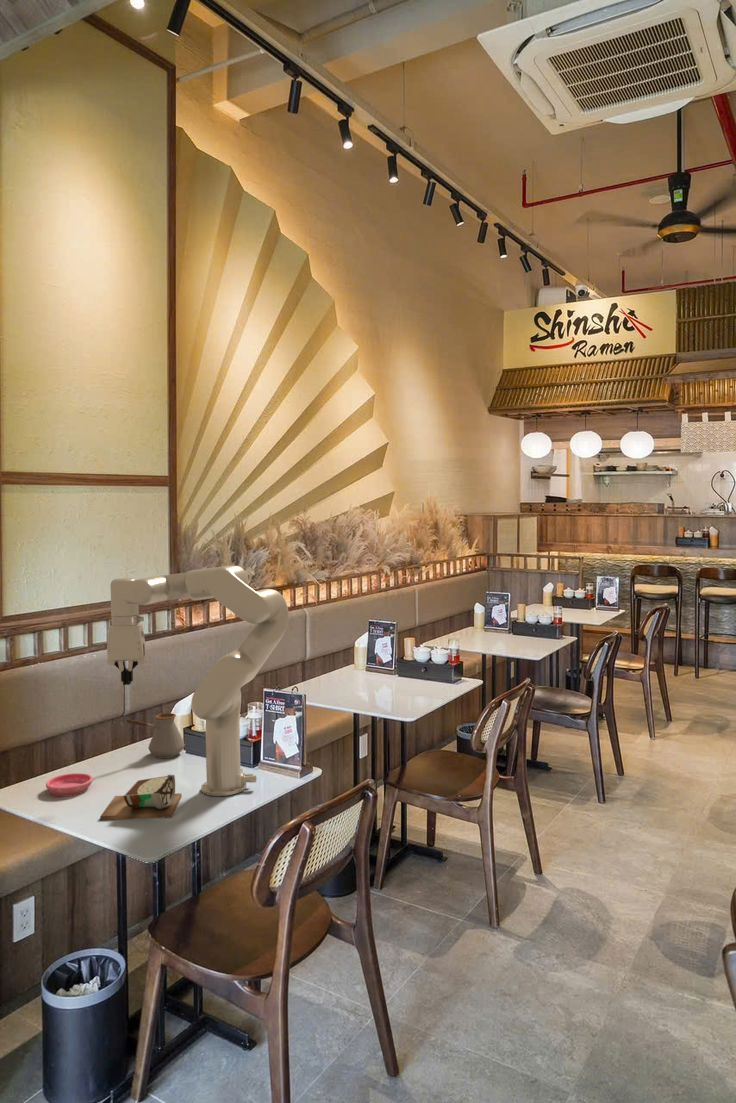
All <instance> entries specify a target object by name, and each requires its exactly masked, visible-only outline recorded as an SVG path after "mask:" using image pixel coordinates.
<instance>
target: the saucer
mask: <svg viewBox="0 0 736 1103" xmlns="http://www.w3.org/2000/svg"><path fill="white" fill-rule="evenodd" d="M93 781H94V778H93V776H92V775H90V774H89V773H81V772H78V773H77V772H76V773H75V772H74V773H72V772H71V773H65V774H64V773H63V774H60V775H57V776H54V777H52V778H49V779H48V780H47V781H46V782H45V787H46V789H47V790H48V791H49V792H51V794H52V795H53V796H57V797H69V796H70V795H71V796H75V794H76V795H78V794H82V793H84V792H85V790H86V791H87V790H88V788H89V787H90V786H91V785H92V783H93ZM81 792H82V793H81ZM71 796H70V797H71Z"/></svg>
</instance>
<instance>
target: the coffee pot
mask: <svg viewBox="0 0 736 1103" xmlns="http://www.w3.org/2000/svg"><path fill="white" fill-rule="evenodd" d="M176 717H177V714H175V713H172V712H171V713H170V712H167V713H166V712H164V713H159V714H157V715H155V719H156V720H157V724H153V723H148V722H145V721H140V720H135V719H131V718H123V719H122V720H121V722H120V725H121V726H125V725H126V722H128V724H133V725H139V726H145V727H150V728H154V732H153V735H152V737H151V739H150V742H149V744H148V747H147V748H148V750H149V752H150V754H152V755H154V757H155V756H156V757H155V758H157V757H160V758H159V759H167V758H166V757H171V758H174V757H173V756H175V757H177V756H179V755H180V753H181V752H182V751H183V750H184V749H185V746H186V744H184V743H185V741H184V739H183V737H182V735H181V733H180V731H179V729H178V726H177V725H176V723H175V718H176ZM123 721H124V724H123ZM176 755H177V756H176ZM163 757H164V758H163Z"/></svg>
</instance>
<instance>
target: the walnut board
mask: <svg viewBox="0 0 736 1103" xmlns="http://www.w3.org/2000/svg"><path fill="white" fill-rule="evenodd" d="M181 799H182V793H180V792H179V793H175V794H174V798H173V801H172V803H171V804H170V805H169V806H167V807H165V808H162V809H158V808H156V807H134V808H131V807H129V806H128V805H127V804H126V802H125V799H124V795H115V796H114V797H113V798H112V799H111V801H110V802H109V803H108V805H107V807H106V808H105V809H104V811H103V812H102V813H101V815H100V821H107V820H108V821H109V820H110V821H112V820H113V819H114V820H134V818H135V819H136V818H138V819H154V818H156V819H159V818H160V819H162V818H173V815H174V814H175V812H176V809H177V807H178V805H179V803H180V801H181Z"/></svg>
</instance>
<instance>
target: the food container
mask: <svg viewBox="0 0 736 1103" xmlns="http://www.w3.org/2000/svg"><path fill="white" fill-rule="evenodd" d="M175 792H176V776H175V774H167V775H164V776H157V777H151V778H144V779H139V780H137V781H136V782H135V783H134V784H133V785H132V786H131V787H130V789H129V790H127V792H126V793H125V794H123V796H124V799H125V802H126V804H127V805H128V806H129V807H131V808H134V807H156V808H158V809H162V808H165V807H167V806H169V805H170V804H171V803H172V801H173V798H174V794H176V793H175Z"/></svg>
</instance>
